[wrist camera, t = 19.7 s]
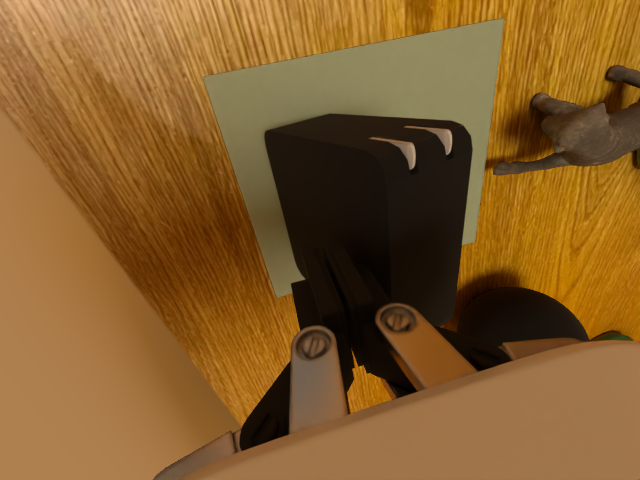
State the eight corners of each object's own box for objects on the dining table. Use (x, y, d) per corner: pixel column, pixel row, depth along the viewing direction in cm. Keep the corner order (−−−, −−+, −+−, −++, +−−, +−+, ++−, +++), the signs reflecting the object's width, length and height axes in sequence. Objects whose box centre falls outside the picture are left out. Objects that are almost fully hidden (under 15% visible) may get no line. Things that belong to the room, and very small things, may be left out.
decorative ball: (492, 250, 27) (606, 329, 18) (536, 290, 31) (644, 368, 23) (418, 321, 30) (487, 419, 21) (469, 349, 34) (543, 438, 26)
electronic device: (296, 271, 21) (392, 371, 13) (259, 129, 16) (383, 155, 8) (342, 248, 22) (453, 325, 15) (323, 112, 17) (478, 121, 10)
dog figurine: (637, 59, 21) (809, 50, 14) (610, 140, 24) (742, 162, 17) (489, 93, 20) (605, 99, 13) (479, 174, 22) (570, 211, 16)
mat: (275, 294, 24) (276, 298, 23) (203, 76, 16) (202, 76, 15) (471, 239, 26) (475, 242, 25) (498, 19, 17) (505, 17, 17)
